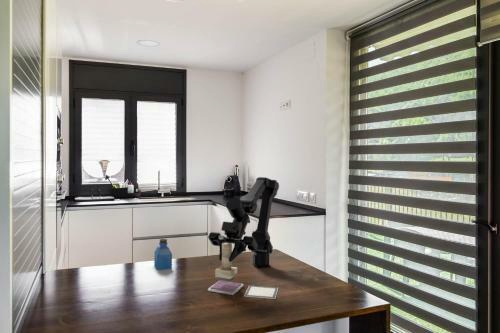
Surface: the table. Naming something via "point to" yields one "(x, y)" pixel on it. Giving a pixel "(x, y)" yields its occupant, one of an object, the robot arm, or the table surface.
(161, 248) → the perfume bottle
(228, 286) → the ink pad
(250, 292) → the marked card
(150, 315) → the table surface
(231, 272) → the stamp
